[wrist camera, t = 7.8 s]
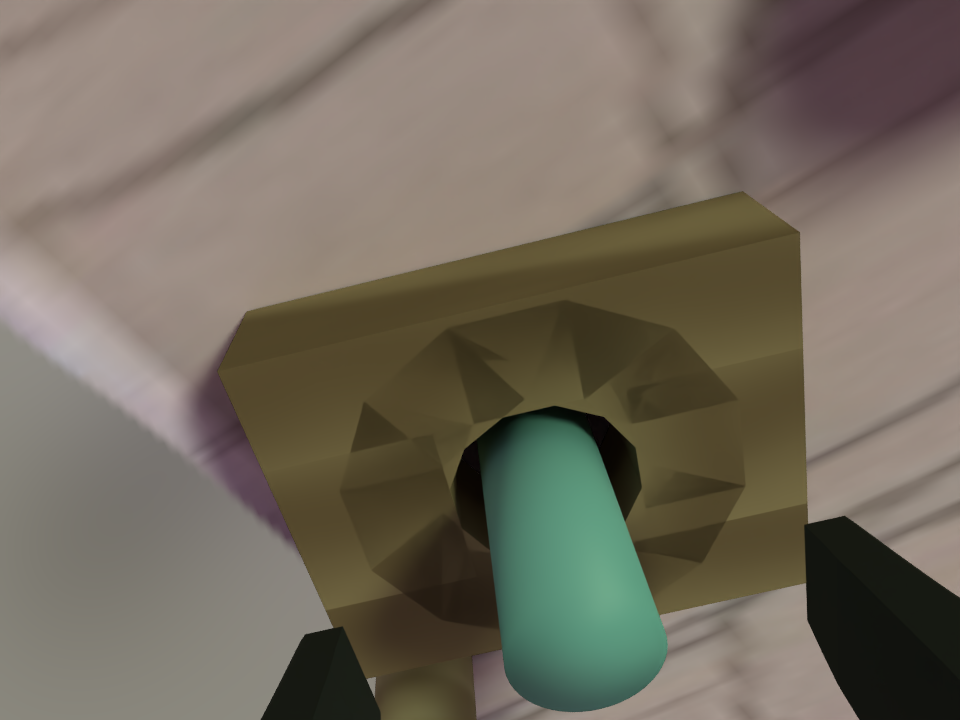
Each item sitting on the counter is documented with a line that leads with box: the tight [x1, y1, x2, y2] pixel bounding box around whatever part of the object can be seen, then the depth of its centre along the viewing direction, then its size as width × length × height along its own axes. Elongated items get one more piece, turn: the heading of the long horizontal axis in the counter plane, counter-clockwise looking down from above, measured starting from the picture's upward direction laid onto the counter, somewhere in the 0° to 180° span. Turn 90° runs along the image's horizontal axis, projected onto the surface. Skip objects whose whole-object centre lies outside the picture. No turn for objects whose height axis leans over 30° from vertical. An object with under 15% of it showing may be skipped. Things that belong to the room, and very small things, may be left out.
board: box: [217, 191, 808, 679], centre depth 16 cm, size 8×10×2 cm
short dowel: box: [375, 656, 477, 720], centre depth 18 cm, size 2×2×4 cm
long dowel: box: [477, 406, 668, 712], centre depth 14 cm, size 2×2×6 cm
